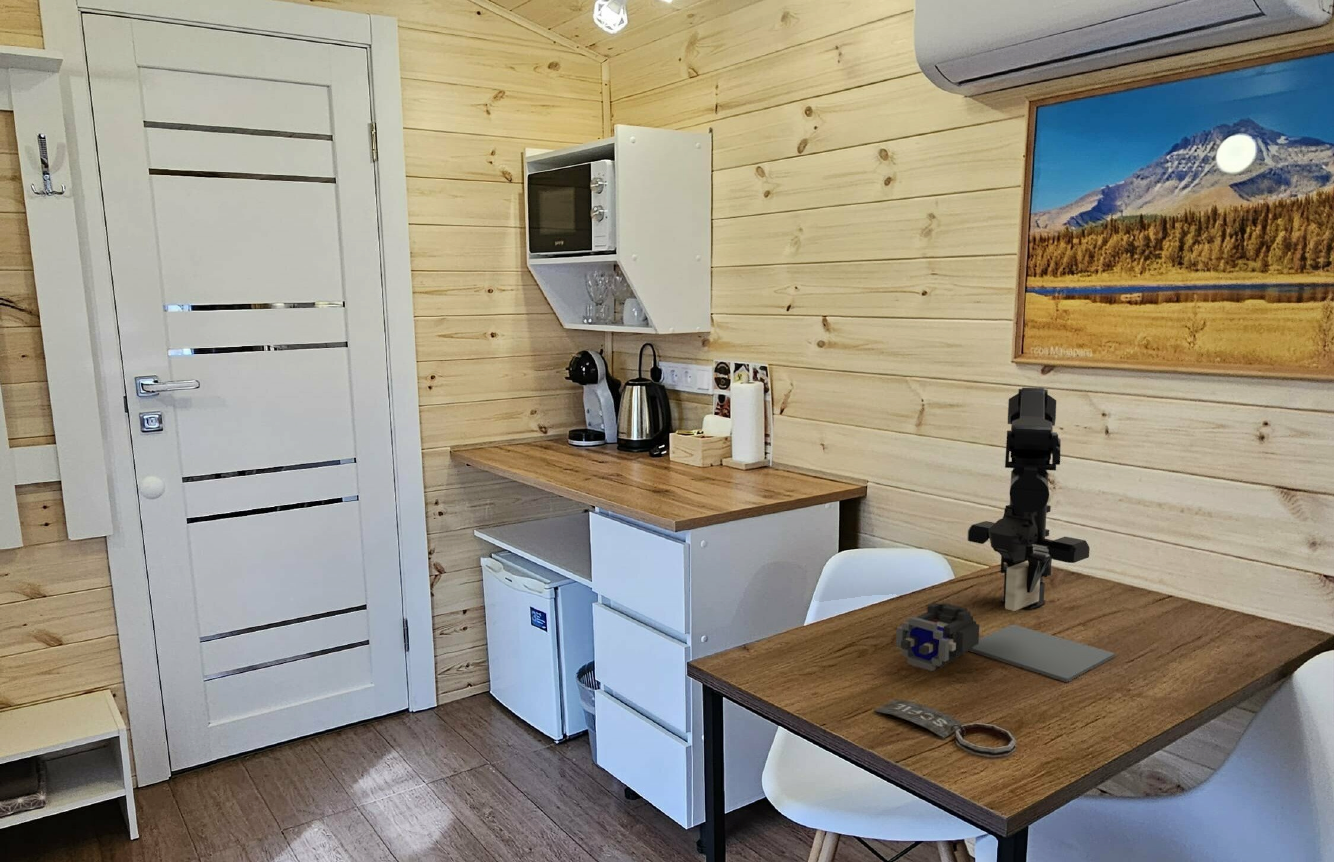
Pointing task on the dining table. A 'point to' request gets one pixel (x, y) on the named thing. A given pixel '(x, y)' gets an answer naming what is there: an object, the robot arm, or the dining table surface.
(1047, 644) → the mat
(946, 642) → the toy
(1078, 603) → the dining table surface
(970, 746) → the keychain
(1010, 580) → the tile
